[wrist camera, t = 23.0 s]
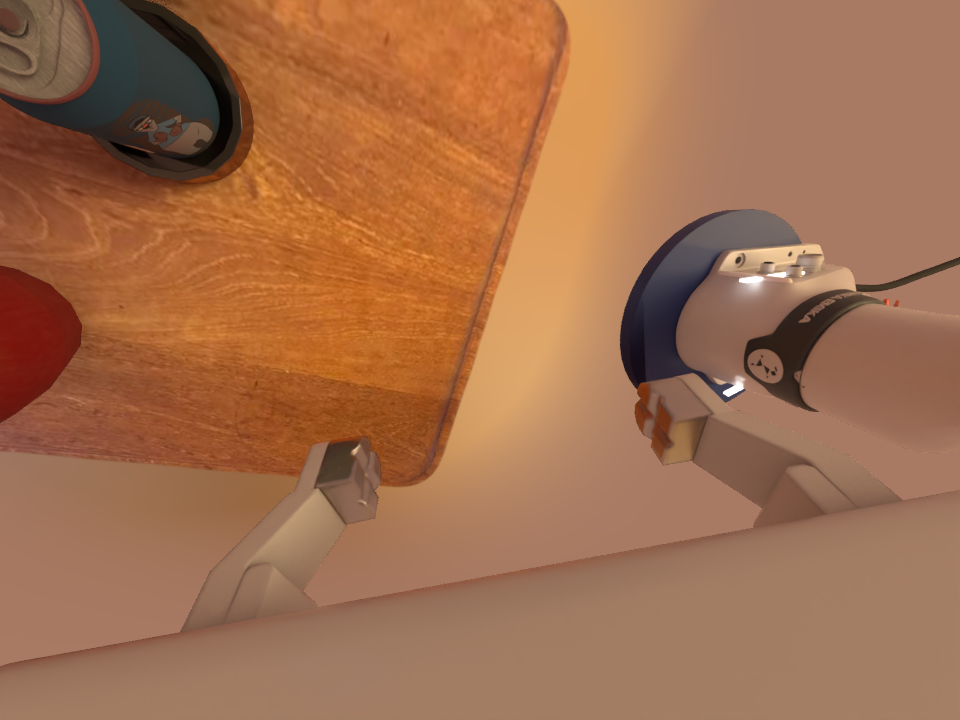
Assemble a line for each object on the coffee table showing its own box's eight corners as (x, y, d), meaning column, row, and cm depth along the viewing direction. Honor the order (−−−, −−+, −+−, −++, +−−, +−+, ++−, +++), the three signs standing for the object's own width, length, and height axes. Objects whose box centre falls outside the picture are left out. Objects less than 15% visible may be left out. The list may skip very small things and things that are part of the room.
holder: (209, 5, 24) (190, -18, 22) (277, 166, 28) (268, 161, 26) (48, 32, 23) (11, 10, 20) (145, 197, 27) (123, 194, 24)
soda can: (112, 21, 23) (-138, -160, 12) (234, 77, 25) (117, -32, 14) (106, 135, 25) (-115, 67, 14) (220, 176, 27) (108, 147, 16)
